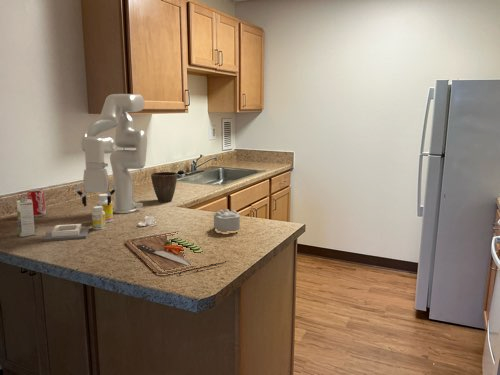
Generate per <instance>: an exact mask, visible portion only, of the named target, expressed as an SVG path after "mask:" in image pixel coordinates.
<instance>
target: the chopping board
mask: <svg viewBox="0 0 500 375" xmlns="http://www.w3.org/2000/svg"><path fill="white" fill-rule="evenodd" d="M179 231H180V230H179ZM179 231H172V232H171V231H170V232H171V233H176V232H179ZM163 233H164V234H159V233H157V234H158V235H154V234H155V233H154V234H151V235H152V236H149V235H150V234H148V235H141V236H137V237H134V238H129V239H126V240H125V242H124V244H125V246H126V245H127V246H128V247H127V246H126V247H127V248H128V249H129V250H130V251H131V252H133V251H134V252H135V253H136V254H137V255H138V256H139V257H140V258H141V259H142V260H143V261H144V262H145V263H146V264H148V265H149V266H150V267H151V268H152V269H153V270H154V271H155V272H156V273H158V274H168V273H173V272H177V271H182V270H186V269H189V268H193V267H194V266H190V265H191V264H190V263H189V262H188V261H186V260H185V259H184V256H185V255H184V256H183V254H184V252H183V253H182V252H180V251H184V249H183V247H186V248H190V250H193V252H194V253H201V252H203V250H202V249H200V248H201V247H200V246H197V245H194V243H191V244H188V243H189V241H186V240H182V239H178V238H174V239H169V240H167V236H171V235H172V236H173V235H175V234H171V233H165V232H163ZM166 234H171V235H166ZM177 234H178V233H177ZM161 235H165V236H161ZM144 236H146V237H144ZM156 236H159V237H156ZM139 237H140V238H139ZM151 237H153V238H151ZM146 238H147V239H146ZM170 240H171V242H170ZM130 242H132V244H134V245H135V246H136V247H137V248H138V249H140V250H141V251H142V252H143V253H144V254H145V255H146V256H148V257H149V258H150V259H151V260H152V261H153V262H154V263H156V264H157V265H158V266H159V267H160V268H161V269H163V270H164V271H165V270H171V269H175V268H179V267H184V266H187V265H188V266H190V267H186V268H181V269H176V270H172V271H167V272H162V271H160V270H158V269H157V268H156V267H155V266H154V265H153V264H152V263H151V262H150V261H149V260H148V259H147V258H145V257H144V256H143V255H142V254H141V253H140V252H139V251H138V250H137V249H136V248H135V247H134V246H133V245H131V244H130ZM172 242H175V243H178V245H182V246H178V245H172ZM134 252H133V253H134ZM135 253H134V254H135ZM136 254H135V255H136ZM137 255H136V256H137ZM138 256H137V257H138ZM139 257H138V258H139ZM182 257H183V258H182ZM140 258H139V259H140ZM141 259H140V260H141ZM142 260H141V261H142ZM143 261H142V262H143ZM144 262H143V263H144ZM145 263H144V264H145ZM146 264H145V265H146ZM195 267H196V266H195Z"/></svg>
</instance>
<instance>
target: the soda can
mask: <svg viewBox="0 0 500 375" xmlns="http://www.w3.org/2000/svg"><path fill="white" fill-rule="evenodd" d="M44 194H45V193H44V191H43V189H42V188H31V189H28V190H27V199H32V203H33V215H34V218H37V217H38V218H39V217H44V216H45V215H46V213H47V212H46V204H45V195H44Z"/></svg>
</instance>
